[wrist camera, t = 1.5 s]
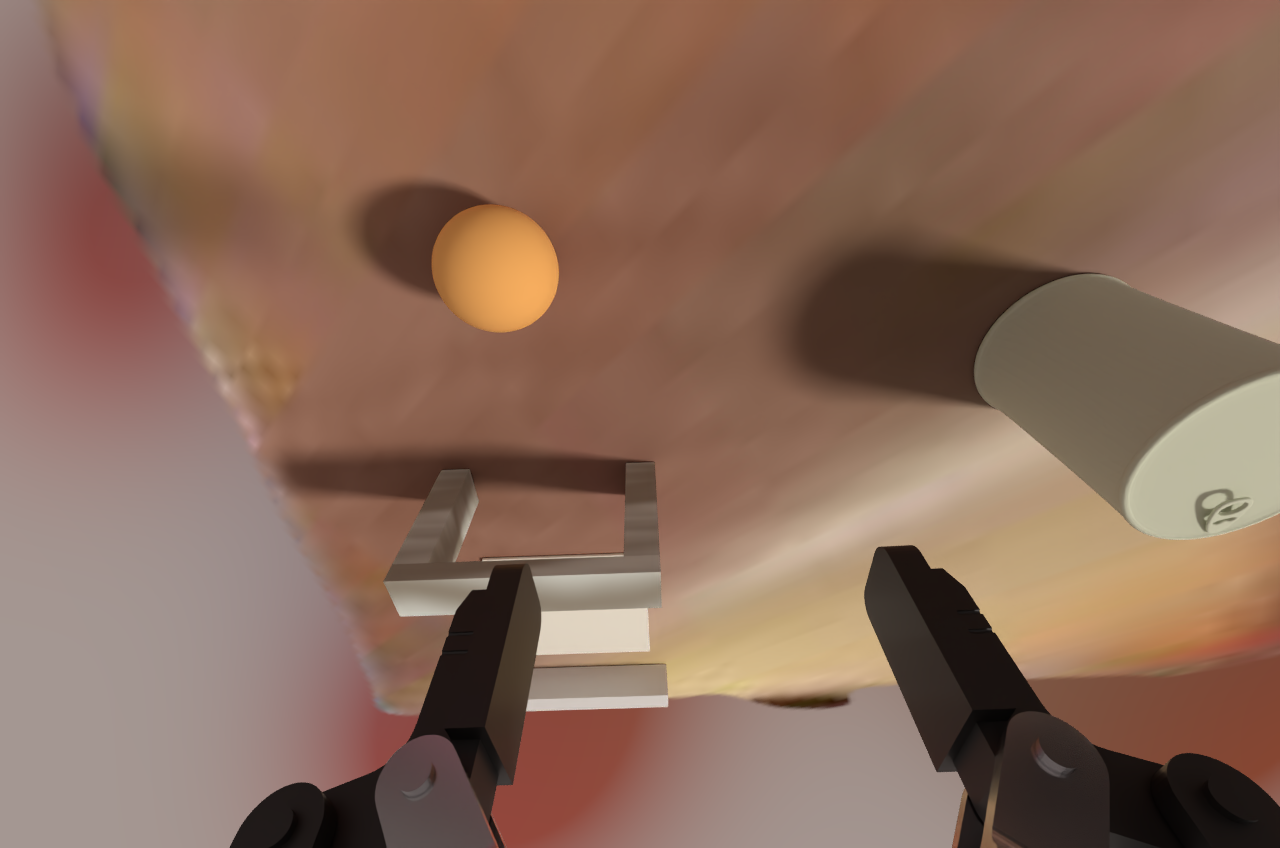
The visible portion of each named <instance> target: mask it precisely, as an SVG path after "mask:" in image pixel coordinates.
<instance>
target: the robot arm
mask: <svg viewBox="0 0 1280 848" xmlns="http://www.w3.org/2000/svg"><path fill="white" fill-rule="evenodd" d="M864 599H865V606H866V610H867V614H868V617H869V619H870V621H871V624H872V626H873V628H874V630H875V633H876V635H877V637H878V639H879V642H880V644H881V646H882V649H883V651H884V653H885V655H886V658H887V660H888V662H889V665H890V667H891V669H892V671H893V674H894V676H895V678H896V680H897V683H898V685H899V687H900V690H901V692H902V694H903V696H904V698H905V701H906V703H907V705H908V708H909V710H910V712H911V715H912V717H913V719H914V721H915V724H916V726H917V728H918V731H919V733H920V735H921V737H922V740H923V742H924V744H925V746H926V749H927V751H928V753H929V756H930V758H931V760H932V762H933V765H934V767H935V769H936V771H937V772H955V771H957V772H958V774H959V776H960V778H961V780H962V782H963V784H964V787H965V789H964V791H963V794H962V798H961V803H960V808H959V814H958V819H957V824H956V829H955V834H954V839H953V844H952V848H1280V807H1279V806H1278V805H1277V803H1276V802H1275V801H1274V800H1273V799H1272V798H1271V797H1270V796H1269V795H1268V794H1267V793H1266V792H1265V791H1264V790H1263V789H1262V788H1261V787H1259V786H1258V785H1257V784H1256V783H1255V782H1253V781H1252V780H1251V779H1250V778H1248V777H1247V776H1245V775H1244V774H1242V773H1241V772H1239V771H1238V770H1236V769H1234V768H1232V767H1231V766H1229V765H1227V764H1225V763H1223V762H1221V761H1218V760H1216V759H1213V758H1211V757H1207V756H1204V755H1199V754H1193V753H1185V754H1179V755H1176V756H1175V757H1173V758H1172V759H1170V760H1169V761H1168V762H1167V763H1166V764H1165V765H1161V764H1158V763H1154V762H1150V761H1146V760H1143V759H1139V758H1136V757H1132V756H1128V755H1125V754H1121V753H1118V752H1114V751H1110V750H1107V749H1104V748H1101V747H1098V746H1095V745H1093V744H1091V742H1089V740H1088V739H1087V738H1086V737H1085V736H1084V735H1082V734H1081V733H1080V732H1079V731H1078V730H1076V729H1075V728H1074V727H1072V726H1071V725H1069V724H1068V723H1066V722H1064V721H1062V720H1060V719H1059V718H1056V717H1054V716H1052V715H1051V714H1050V713H1049V712H1048V711H1047V710H1046V709H1045V707H1044V706H1043V705H1042V703H1041V702H1040V700H1039V699H1038V697H1037V696H1036V694H1035V693H1034V691H1033V690H1032V688H1031V687H1030V685H1029V684H1028V682H1027V681H1026V679H1025V678H1024V676H1023V675H1022V673H1021V672H1020V670H1019V668H1018V667H1017V665H1016V664H1015V662H1014V661H1013V659H1012V658H1011V656H1010V655H1009V653H1008V652H1007V650H1006V649H1005V647H1004V646H1003V644H1002V643H1001V641H1000V640H999V638H998V637H997V635H996V634H995V633H993V632H992V628H991V626H990V625H989V623H988V621H987V620H986V618H985V617H984V615H983V614H980V611H979V610H980V609H979V608H978V606H977V605H976V603H975V602H974V600H973V599H972V597H971V596H970V594H969V593H968V591H967V590H966V588H965V587H964V586H963V585H962V584H961V583H959V582H958V581H957V580H956V579H955V578H953V577H952V576H951V575H950V574H949V573H948V572H946V571H945V570H944V569H943V568H940V569H931V568H930V567H929V565H928V563H927V562H926V560H925V559H924V557H923V555H922V554H921V552H920V551H919V550H918V548H916V547H915V546H913V545H907V546H887V547H878V548H877V549H876V551H875V554H874V557H873V561H872V564H871V568H870V572H869V575H868V579H867V583H866V586H865V592H864ZM540 630H541V605H540V601H539V597H538V594H537V590H536V587H535V583H534V580H533V576H532V573H531V569H530V566H529V565H528V564H527V563H526V564H506V565H496V566H494V568H493V570H492V572H491V576H490V579H489V582H488V585H487V589H483V590H472V591H471V592H470V593H469V594H468V596H467V597H466V598H465V600H464V601H463V602H462V603H461V605H460V606H459V607H458V608H457V610H456V612H455V615H454V618H453V621H452V624H451V627H450V629H449V636H448V637H447V638H446V641H445V644H444V647H443V650H442V656H440V658H439V661H438V664H437V667H436V670H435V672H434V675H433V678H432V681H431V684H430V687H429V690H428V693H427V695H426V698H425V701H424V704H423V707H422V710H421V713H420V715H419V718H418V721H417V724H416V726H415V729H414V731H413V733H412V735H411V737H410V739H409V740H408V742H407V743H406V744H405V745H403V746H402V747H401V748H400V749H399V750H397V751H396V752H395V753H394V754H393V756H392V757H391V758H390V759H389V760H388V762H387V763H386V764H385V765H384V766H382V767H381V768H379V769H377V770H376V771H374V772H372V773H369V774H367V775H365V776H362V777H360V778H357V779H354V780H352V781H350V782H347V783H344V784H342V785H339V786H337V787H334V788H332V789H329V790H327V791H324V792H321V791H320V790H319V789H318V788H317V787H316V786H314V785H313V784H310V783H294V784H291V785H288V786H285V787H283V788H281V789H279V790H277V791H276V792H274V793H272V794H271V795H270V796H268V797H267V798H266V799H264V800H263V801H262V802H261V803H260V804H259V805H258V806H257V807H256V808H255V809H254V810H253V811H252V812H251V813H250V814H249V816H248V817H247V818H246V820H245V821H244V822H243V824H242V825H241V827H240V828H239V831H238V832H237V834H236V836H235V838H234V840H233V842H232V844H231V846H230V848H506V845H505V843H504V841H503V838H502V836H501V834H500V831H499V829H498V827H497V824H496V822H495V820H494V817H493V815H492V813H491V811H492V806H493V801H494V796H495V791H496V786H497V785H513V781H514V775H515V769H516V763H517V758H518V753H519V747H520V741H521V736H522V730H523V724H524V719H525V713H526V708H527V703H528V697H529V691H530V686H531V680H532V675H533V669H534V664H535V658H536V652H537V647H538V641H539V636H540Z"/></svg>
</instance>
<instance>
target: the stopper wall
mask: <svg viewBox="0 0 1280 848" xmlns="http://www.w3.org/2000/svg"><path fill="white" fill-rule="evenodd" d="M645 707H668V688H667V670H666V664H655V665H624V666H593V667H562V668H534V669H533V675H532V680H531V686H530V691H529V697H528V703H527V708H526V711H547V710H577V709H612V708H645Z"/></svg>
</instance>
